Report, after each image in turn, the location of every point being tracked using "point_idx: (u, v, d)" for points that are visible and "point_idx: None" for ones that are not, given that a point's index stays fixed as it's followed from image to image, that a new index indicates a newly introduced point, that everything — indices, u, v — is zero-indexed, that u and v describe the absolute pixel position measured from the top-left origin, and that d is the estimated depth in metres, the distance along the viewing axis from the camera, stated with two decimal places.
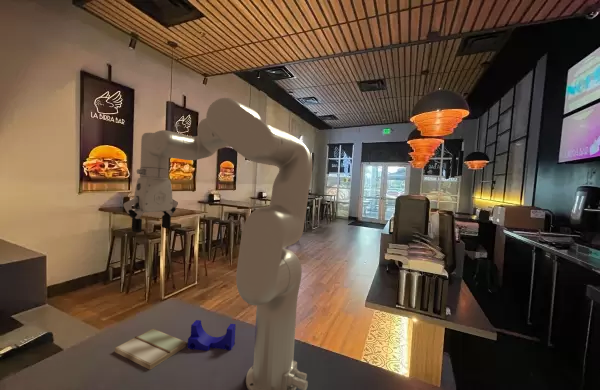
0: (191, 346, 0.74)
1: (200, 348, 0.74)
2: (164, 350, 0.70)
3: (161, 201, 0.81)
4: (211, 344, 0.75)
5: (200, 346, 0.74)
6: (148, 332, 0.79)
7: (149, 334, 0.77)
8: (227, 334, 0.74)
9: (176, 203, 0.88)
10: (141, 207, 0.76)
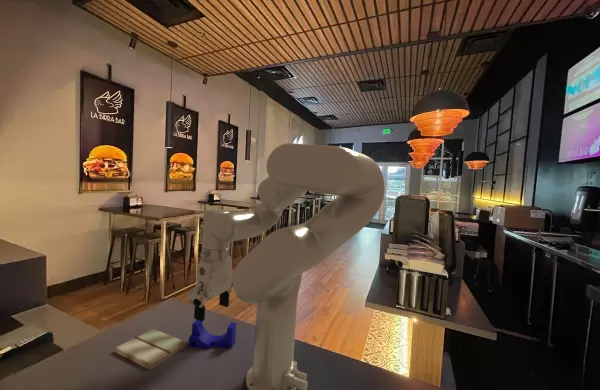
0: (192, 344, 0.75)
1: (201, 347, 0.74)
2: (164, 350, 0.70)
3: (223, 282, 0.75)
4: (212, 342, 0.76)
5: (201, 344, 0.74)
6: (148, 332, 0.79)
7: (149, 334, 0.77)
8: (228, 333, 0.75)
9: None
10: (205, 294, 0.70)
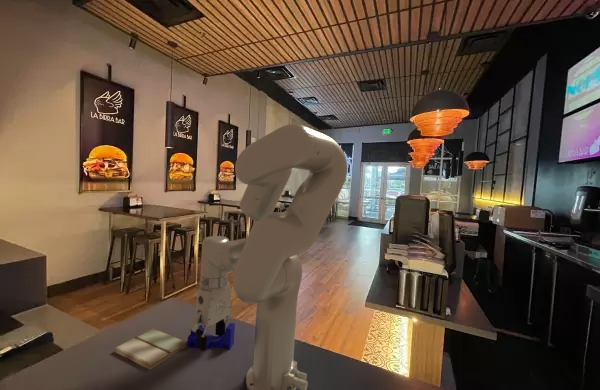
0: (191, 344, 0.75)
1: None
2: (164, 350, 0.70)
3: (222, 309, 0.75)
4: (210, 343, 0.75)
5: None
6: (148, 332, 0.79)
7: (149, 334, 0.77)
8: (226, 333, 0.75)
9: (230, 306, 0.82)
10: (204, 323, 0.70)
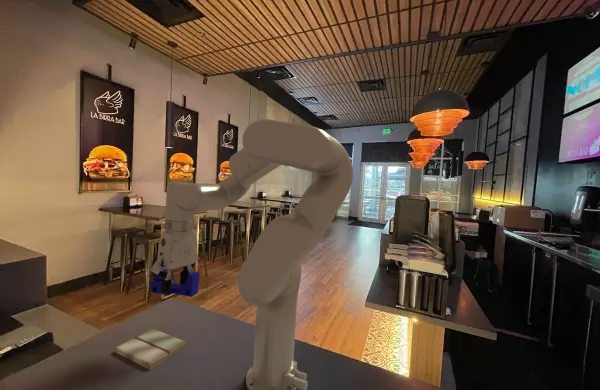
0: (154, 290, 0.74)
1: (162, 292, 0.73)
2: (164, 350, 0.70)
3: (186, 255, 0.74)
4: (173, 289, 0.74)
5: None
6: (148, 332, 0.79)
7: (149, 334, 0.77)
8: (188, 280, 0.73)
9: (197, 258, 0.81)
10: (166, 265, 0.69)
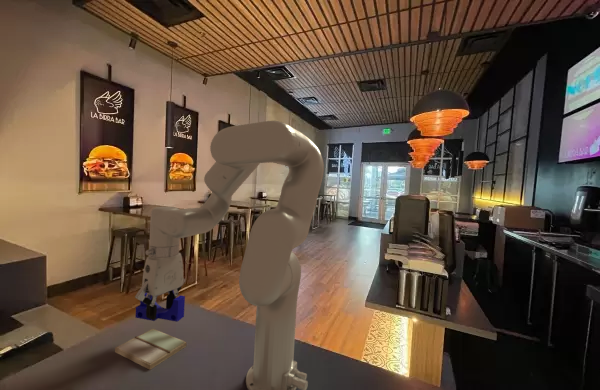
0: (139, 315, 0.74)
1: None
2: (164, 350, 0.70)
3: (171, 280, 0.74)
4: (159, 314, 0.74)
5: None
6: (148, 332, 0.79)
7: (149, 334, 0.77)
8: (174, 305, 0.73)
9: (183, 281, 0.81)
10: (150, 292, 0.69)
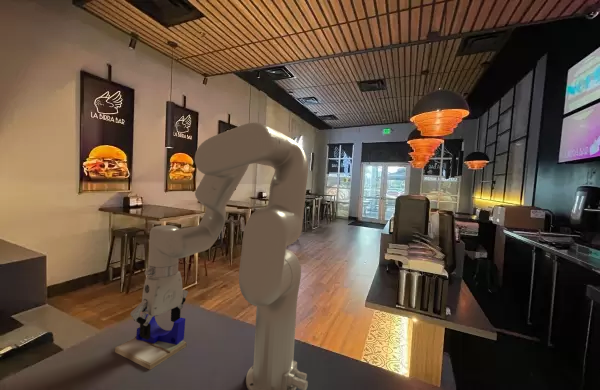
0: (140, 337, 0.74)
1: (147, 340, 0.73)
2: (164, 350, 0.70)
3: (171, 299, 0.74)
4: (159, 336, 0.74)
5: None
6: None
7: None
8: (174, 327, 0.73)
9: (186, 292, 0.82)
10: (150, 312, 0.69)
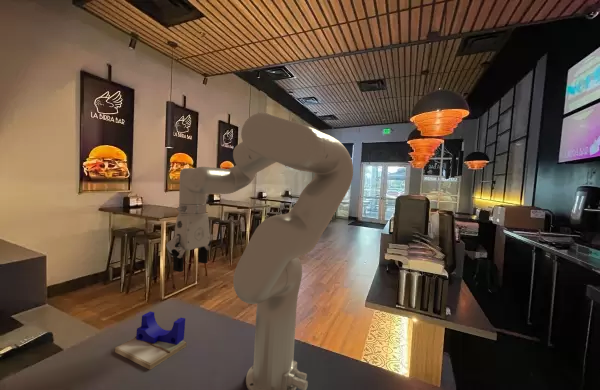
0: (140, 337, 0.74)
1: (147, 340, 0.73)
2: (164, 350, 0.70)
3: (200, 237, 0.79)
4: (159, 336, 0.74)
5: (147, 337, 0.73)
6: None
7: None
8: (174, 327, 0.73)
9: (211, 236, 0.86)
10: (183, 246, 0.74)
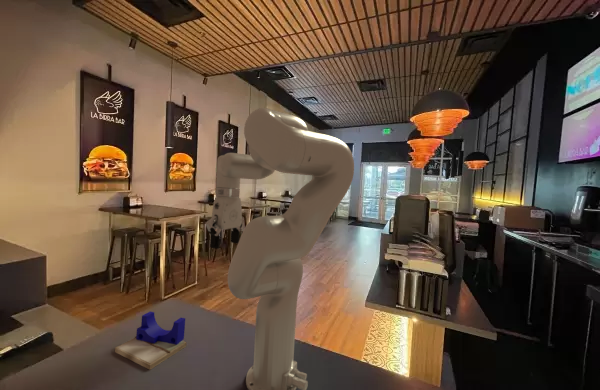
0: (140, 337, 0.74)
1: (147, 340, 0.73)
2: (164, 350, 0.70)
3: (234, 218, 0.86)
4: (159, 336, 0.74)
5: (147, 337, 0.73)
6: None
7: None
8: (174, 327, 0.73)
9: (242, 219, 0.94)
10: (220, 225, 0.82)
